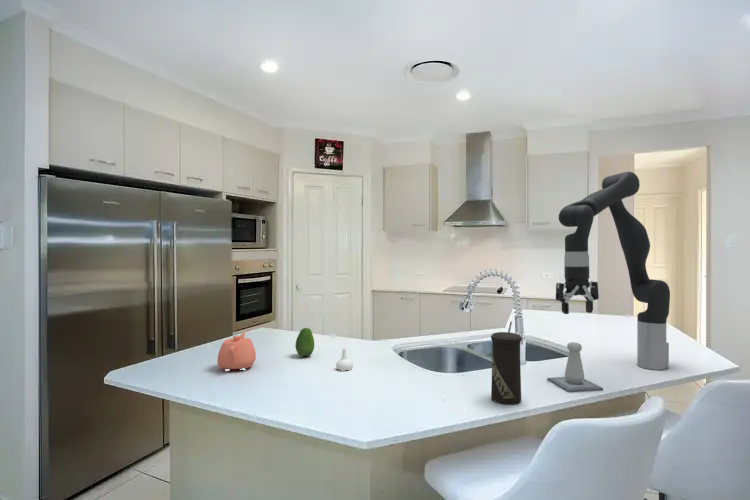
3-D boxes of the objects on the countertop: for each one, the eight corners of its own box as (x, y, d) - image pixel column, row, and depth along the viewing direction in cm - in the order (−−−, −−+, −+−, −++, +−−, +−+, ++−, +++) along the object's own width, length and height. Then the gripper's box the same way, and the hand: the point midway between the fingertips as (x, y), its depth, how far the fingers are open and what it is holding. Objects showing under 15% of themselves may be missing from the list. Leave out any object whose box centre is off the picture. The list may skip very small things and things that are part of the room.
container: (486, 395, 128) (486, 330, 128) (514, 394, 129) (514, 329, 129) (497, 405, 119) (497, 336, 119) (527, 404, 120) (527, 335, 120)
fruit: (318, 355, 174) (318, 327, 174) (305, 360, 168) (305, 330, 167) (304, 353, 178) (304, 325, 178) (291, 357, 172) (291, 328, 172)
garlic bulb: (356, 370, 155) (357, 349, 156) (343, 372, 151) (345, 350, 151) (344, 367, 160) (345, 346, 160) (332, 369, 155) (333, 347, 156)
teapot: (260, 359, 168) (260, 330, 168) (249, 375, 148) (249, 341, 148) (226, 360, 167) (226, 330, 167) (211, 376, 147) (211, 342, 147)
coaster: (579, 378, 144) (579, 376, 144) (603, 390, 132) (603, 387, 132) (547, 380, 142) (547, 377, 142) (568, 392, 130) (568, 389, 130)
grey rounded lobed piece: (586, 385, 134) (586, 345, 134) (567, 384, 135) (567, 344, 135) (580, 380, 139) (581, 341, 139) (562, 379, 141) (562, 340, 140)
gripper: (588, 264, 144) (589, 310, 144) (550, 265, 142) (551, 312, 142) (603, 264, 137) (604, 314, 137) (564, 266, 135) (564, 316, 135)
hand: (577, 313), depth 140 cm, fingers open, 8 cm apart
